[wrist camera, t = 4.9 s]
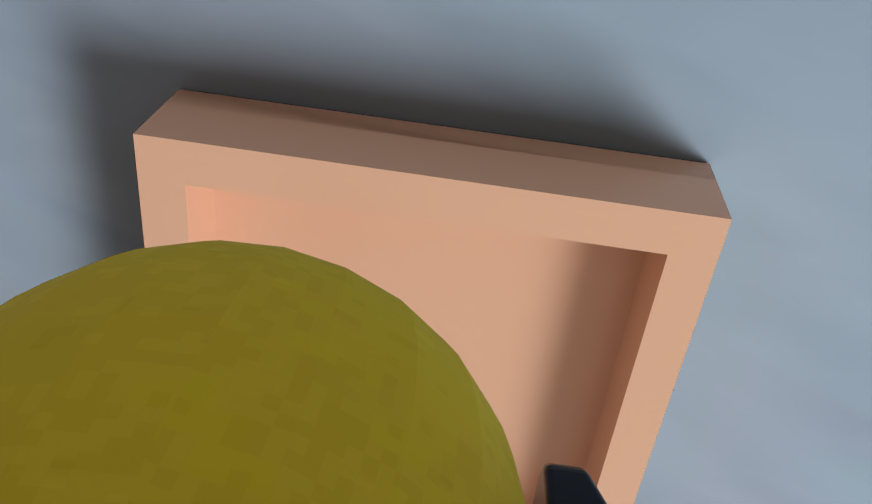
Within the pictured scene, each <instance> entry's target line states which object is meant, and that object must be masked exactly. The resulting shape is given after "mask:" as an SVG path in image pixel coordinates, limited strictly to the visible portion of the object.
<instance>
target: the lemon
mask: <svg viewBox="0 0 872 504" xmlns="http://www.w3.org/2000/svg"><path fill="white" fill-rule="evenodd" d="M0 504H526V502H525V498H524V495H523V491H522V487H521V483H520V480H519V476H518V472H517V468H516V465H515V461H514V457H513V454H512V451H511V449H510V446H509V443H508V440H507V438H506V435H505V432H504V430H503V427H502V425H501V424H500V422H499V420H498V418H497V417H496V415H495V413H494V411H493V410H492V408H491V406H490V404H489V403H488V401H487V400H486V398H485V396H484V395H483V393H482V392H481V390H480V388H479V387H478V385H477V384H476V382H475V380H474V379H473V377H472V376H471V374H470V373H469V371H468V369H467V368H466V366H465V365H464V363H463V361H462V360H461V358H460V357H459V355H458V354H457V353H456V352H455V351H454V350H453V349H452V347H451V346H450V345H449V344H448V343H447V342H446V341H445V340H444V339H443V338H442V337H440V336H439V335H438V334H437V333H436V332H435V331H434V330H433V329H432V328H431V327H430V326H429V325H428V324H426V323H425V322H424V321H423V320H422V319H421V318H420V317H419V316H418V315H417V314H416V313H415V312H414V311H413V310H411V309H410V308H409V307H408V306H407V305H406V304H405V303H404V302H403V301H402V300H400V299H399V298H397V297H395V296H394V295H392V294H390V293H389V292H387V291H385V290H383V289H382V288H380V287H378V286H377V285H375V284H373V283H371V282H370V281H368V280H366V279H365V278H363V277H361V276H360V275H358V274H356V273H354V272H353V271H351V270H349V269H348V268H345V267H343V266H340V265H337V264H334V263H331V262H328V261H325V260H322V259H319V258H316V257H313V256H310V255H307V254H304V253H301V252H298V251H295V250H292V249H289V248H286V247H280V246H270V245H261V244H251V243H242V242H233V241H223V240H213V241H199V242H190V243H182V244H173V245H165V246H157V247H148V248H140V249H134V250H131V251H127V252H124V253H120V254H117V255H113V256H110V257H107V258H105V259H102V260H100V261H97V262H95V263H92V264H90V265H87V266H84V267H82V268H79V269H77V270H74V271H72V272H69V273H67V274H64V275H62V276H59V277H57V278H54V279H52V280H49V281H47V282H45V283H42V284H40V285H38V286H36V287H34V288H32V289H30V290H28V291H26V292H24V293H22V294H20V295H17V296H15V297H13V298H12V299H10V300H9V301H7V302H6V303H4V304H2V305H1V306H0Z"/></svg>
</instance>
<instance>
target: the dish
mask: <svg viewBox="0 0 872 504" xmlns="http://www.w3.org/2000/svg"><path fill="white" fill-rule="evenodd" d="M133 139H134V149H135V159H136V168H137V178H138V188H139V197H140V207H141V217H142V227H143V236H144V246H145V248H148V247H157V246H165V245H173V244H182V243H190V242H199V241H213V240H223V241H233V242H242V243H251V244H261V245H270V246H280V247H286V248H289V249H292V250H295V251H298V252H301V253H304V254H307V255H310V256H313V257H316V258H319V259H322V260H325V261H328V262H331V263H334V264H337V265H340V266H343V267H345V268H348V269H349V270H351V271H353V272H354V273H356V274H358V275H360V276H361V277H363V278H365V279H366V280H368V281H370V282H371V283H373V284H375V285H377V286H378V287H380V288H382V289H383V290H385V291H387V292H389V293H390V294H392V295H394V296H395V297H397V298H399V299H400V300H402V301H403V302H404V303H405V304H406V305H407V306H408V307H409V308H410V309H411V310H413V311H414V312H415V313H416V314H417V315H418V316H419V317H420V318H421V319H422V320H423V321H424V322H425V323H426V324H428V325H429V326H430V327H431V328H432V329H433V330H434V331H435V332H436V333H437V334H438V335H439V336H440V337H442V338H443V339H444V340H445V341H446V342H447V343H448V344H449V345H450V346H451V347H452V349H453V350H454V351H455V352H456V353H457V354H458V355H459V357H460V358H461V360H462V361H463V363H464V365H465V366H466V368H467V369H468V371H469V373H470V374H471V376H472V377H473V379H474V380H475V382H476V384H477V385H478V387H479V388H480V390H481V392H482V393H483V395H484V396H485V398H486V400H487V401H488V403H489V404H490V406H491V408H492V410H493V411H494V413H495V415H496V417H497V418H498V420H499V422H500V424H501V425H502V427H503V430H504V432H505V435H506V438H507V440H508V443H509V446H510V449H511V451H512V454H513V457H514V461H515V465H516V468H517V472H518V476H519V480H520V483H521V487H522V491H523V495H524V498H525V502H526V504H533V500H534V496H535V491H536V487H537V483H538V478H539V474H540V471H541V468H542V467H543V466H544V465H545V464H547V463H554V464H561V465H568V466H575V467H580V468H583V469H584V470H586V471H587V472H588V474H589V475H590V477H591V478H592V480H593V482H594V483H595V485H596V487H597V488H598V490H599V491H600V493H601V495H602V496H603V498H604V500H605V501H606V503H607V504H634V501H635V498H636V495H637V492H638V489H639V487H640V484H641V481H642V478H643V475H644V472H645V469H646V466H647V463H648V461H649V458H650V455H651V452H652V449H653V446H654V443H655V440H656V437H657V435H658V432H659V429H660V426H661V423H662V420H663V417H664V414H665V411H666V409H667V406H668V403H669V400H670V397H671V394H672V391H673V388H674V385H675V383H676V380H677V377H678V374H679V371H680V368H681V365H682V362H683V359H684V356H685V354H686V351H687V348H688V345H689V342H690V339H691V336H692V333H693V330H694V328H695V325H696V322H697V319H698V316H699V313H700V310H701V307H702V304H703V302H704V299H705V296H706V293H707V290H708V287H709V284H710V281H711V278H712V276H713V273H714V270H715V267H716V264H717V261H718V258H719V255H720V252H721V250H722V247H723V244H724V241H725V238H726V235H727V232H728V229H729V226H730V224H731V221H732V218H731V216H730V214H729V211H728V209H727V206H726V204H725V201H724V199H723V196H722V194H721V191H720V189H719V186H718V184H717V181H716V179H715V176H714V174H713V171H712V169H711V166H710V164H707V163H700V162H693V161H686V160H679V159H672V158H665V157H658V156H651V155H644V154H636V153H629V152H622V151H615V150H608V149H601V148H594V147H587V146H580V145H572V144H565V143H558V142H551V141H544V140H537V139H530V138H523V137H516V136H509V135H501V134H494V133H487V132H480V131H473V130H466V129H459V128H452V127H445V126H438V125H430V124H423V123H416V122H409V121H402V120H395V119H388V118H381V117H374V116H367V115H359V114H352V113H345V112H338V111H331V110H324V109H317V108H310V107H303V106H296V105H288V104H281V103H274V102H267V101H260V100H253V99H246V98H239V97H232V96H225V95H217V94H210V93H203V92H196V91H189V90H182V89H179V90H178V91H177V92H176V93H175V94H174V95H173V96H171V97H170V98H169V99H168V100H167V101H166V102H165V103H164V104H163V105H162V106H161V107H160V108H159V109H158V110H157V111H156V112H155V113H154V114H153V115H152V116H151V117H150V118H149V119H148V120H147V121H146V122H145V123H144V124H143V125H142V126H140V127H139V128H138V129H137V130H136V131H135V132H134V133H133Z"/></svg>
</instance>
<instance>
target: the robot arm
mask: <svg viewBox="0 0 872 504" xmlns="http://www.w3.org/2000/svg"><path fill="white" fill-rule="evenodd" d="M533 504H607V503H606V501H605V500H604V498H603V496H602V495H601V493H600V491H599V490H598V488H597V487H596V485H595V483H594V482H593V480H592V478H591V477H590V475H589V474H588V472H587V471H586V470H584V469H583V468H580V467H575V466H568V465H561V464H554V463H547V464H545V465H544V466H543V467H542V468H541V471H540V474H539V478H538V483H537V487H536V491H535V496H534V500H533Z"/></svg>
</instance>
